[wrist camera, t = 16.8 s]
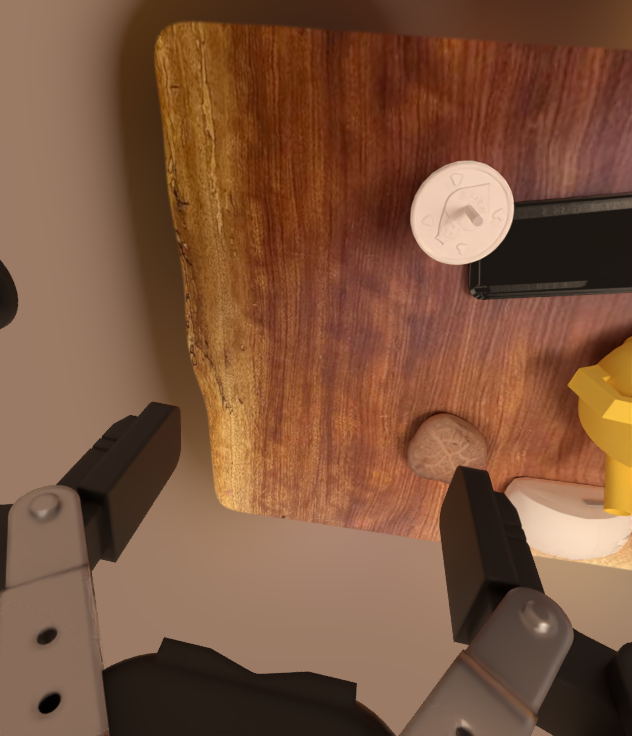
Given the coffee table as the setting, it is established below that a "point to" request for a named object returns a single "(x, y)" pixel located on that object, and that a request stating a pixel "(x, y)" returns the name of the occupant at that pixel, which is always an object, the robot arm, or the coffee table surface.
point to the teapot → (610, 421)
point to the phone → (560, 250)
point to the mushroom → (445, 447)
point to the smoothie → (462, 212)
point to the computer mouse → (567, 518)
